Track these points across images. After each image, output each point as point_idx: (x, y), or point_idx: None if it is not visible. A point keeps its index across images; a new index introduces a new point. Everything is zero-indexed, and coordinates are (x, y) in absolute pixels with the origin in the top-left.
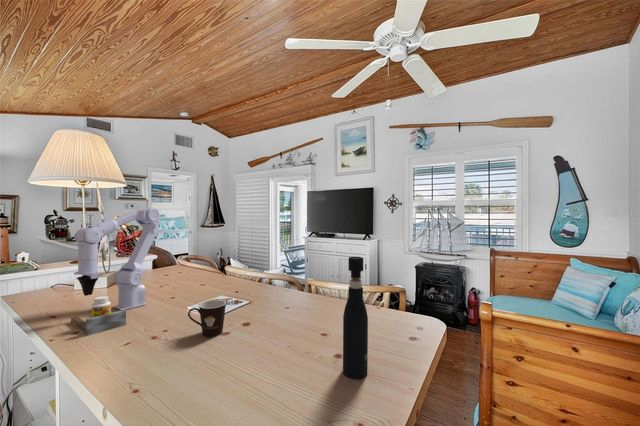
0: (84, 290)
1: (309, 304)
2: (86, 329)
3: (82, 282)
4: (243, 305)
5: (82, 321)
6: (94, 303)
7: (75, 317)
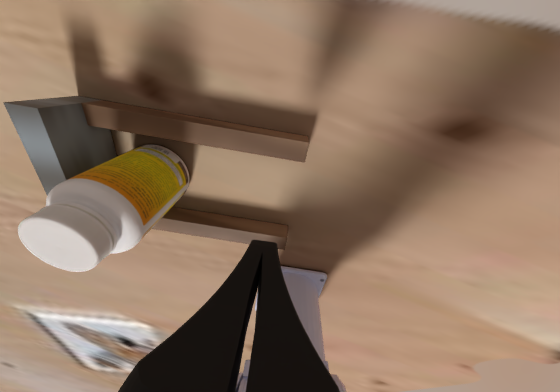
0: (236, 266)
1: (5, 378)
2: (69, 100)
3: (171, 337)
4: (73, 355)
5: (190, 137)
6: (99, 204)
7: (278, 147)
